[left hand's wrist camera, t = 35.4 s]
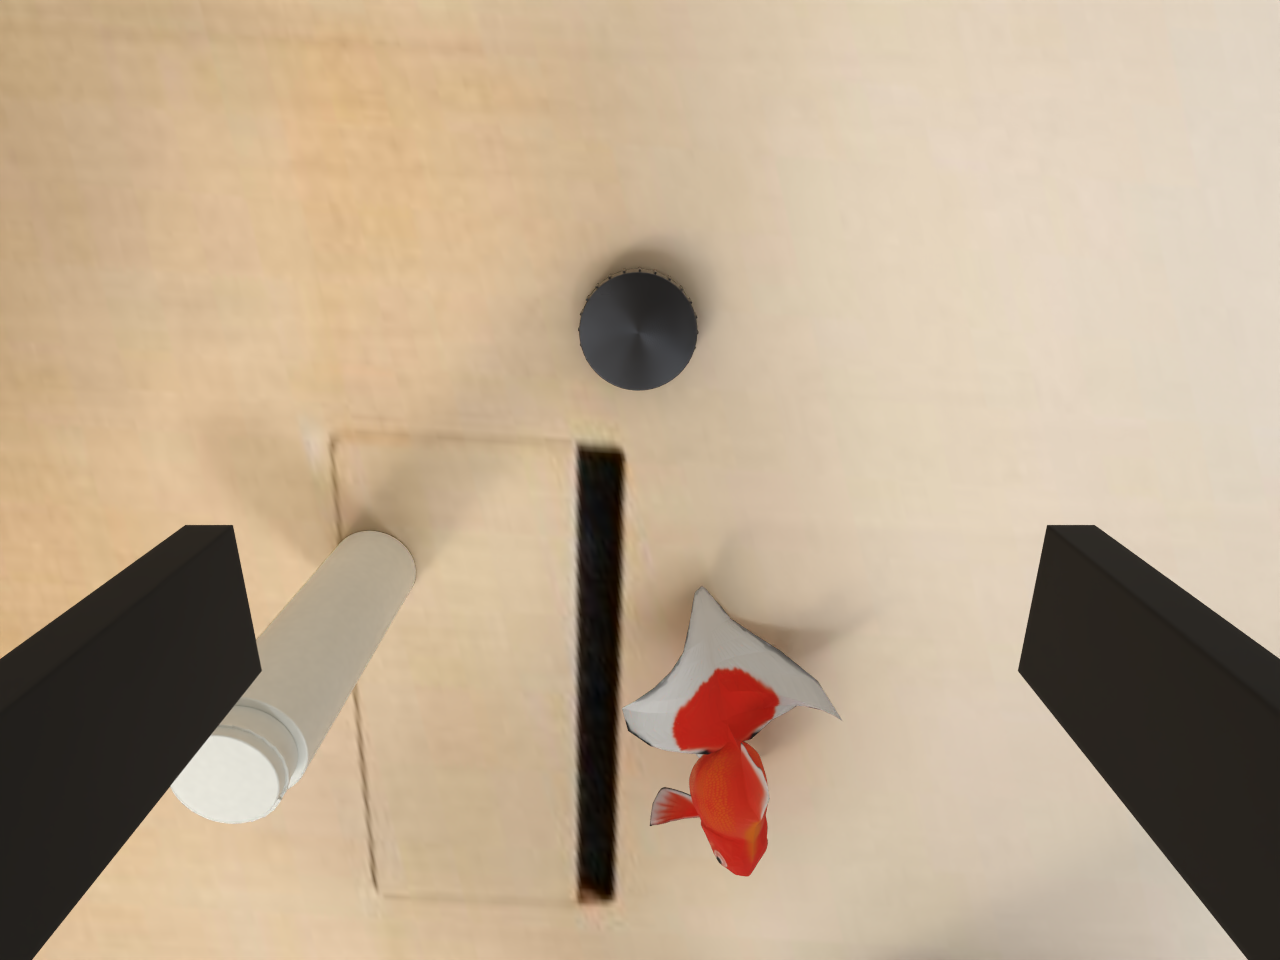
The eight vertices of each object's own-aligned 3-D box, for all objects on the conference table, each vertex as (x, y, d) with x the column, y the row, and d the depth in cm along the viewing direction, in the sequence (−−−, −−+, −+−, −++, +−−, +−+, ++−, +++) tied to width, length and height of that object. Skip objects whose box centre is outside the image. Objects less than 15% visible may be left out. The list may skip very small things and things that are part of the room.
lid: (588, 388, 39) (586, 397, 37) (573, 273, 37) (570, 277, 35) (700, 376, 39) (703, 385, 37) (691, 260, 37) (693, 264, 35)
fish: (576, 850, 44) (647, 940, 34) (603, 574, 45) (678, 589, 36) (740, 839, 48) (842, 916, 38) (760, 586, 49) (863, 602, 40)
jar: (318, 576, 43) (135, 792, 27) (357, 514, 42) (189, 704, 26) (390, 618, 44) (253, 851, 28) (431, 559, 43) (311, 768, 27)
